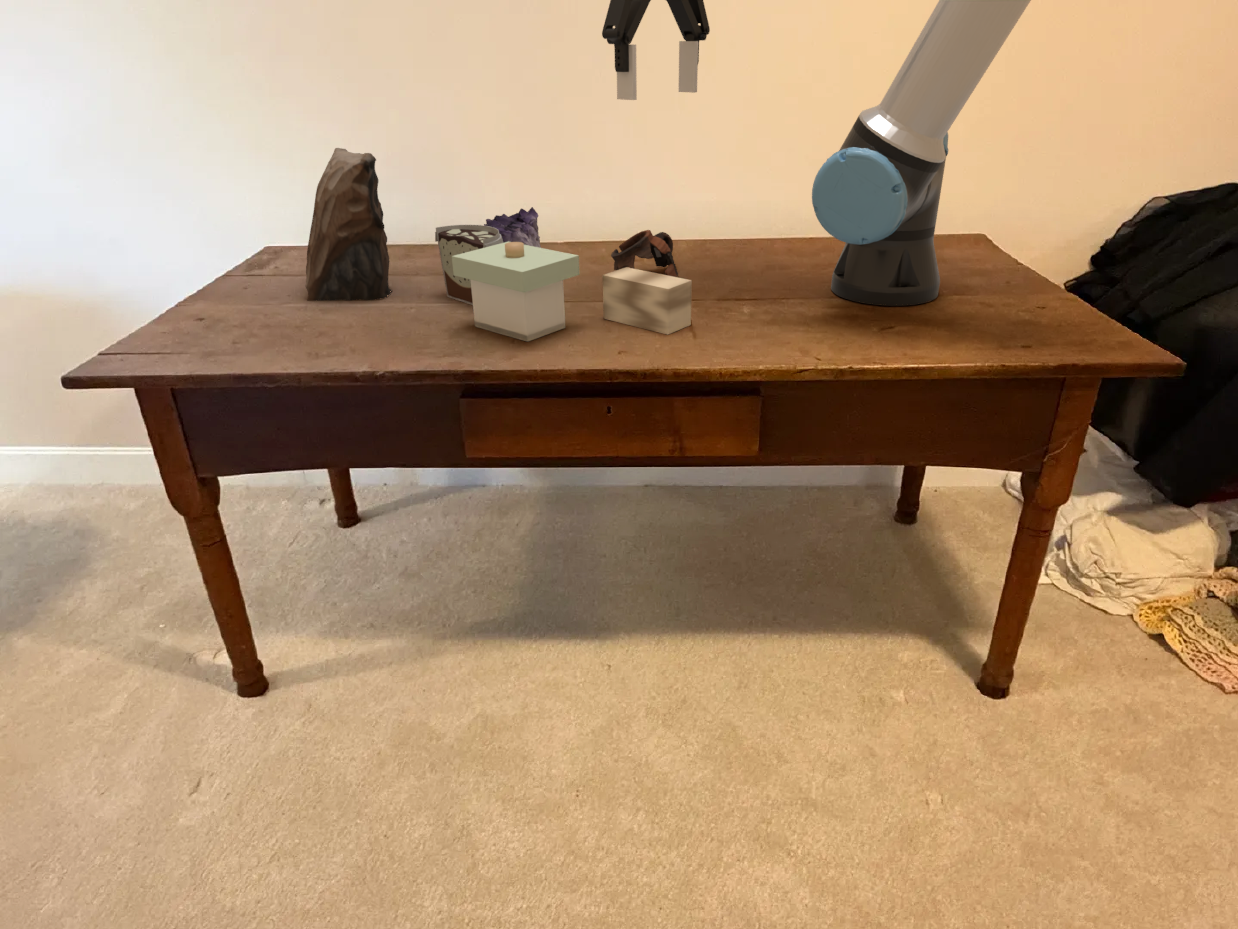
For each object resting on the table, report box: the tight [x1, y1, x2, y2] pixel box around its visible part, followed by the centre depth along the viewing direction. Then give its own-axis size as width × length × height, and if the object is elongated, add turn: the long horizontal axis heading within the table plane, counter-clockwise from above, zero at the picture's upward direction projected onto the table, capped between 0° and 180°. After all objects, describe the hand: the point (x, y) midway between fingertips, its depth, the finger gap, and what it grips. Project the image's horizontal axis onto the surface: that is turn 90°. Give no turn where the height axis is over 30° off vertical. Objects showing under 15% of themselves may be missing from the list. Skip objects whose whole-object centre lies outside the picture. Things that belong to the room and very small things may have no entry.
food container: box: [434, 224, 503, 306], centre depth 125 cm, size 12×6×10 cm, turn 45°
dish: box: [470, 279, 566, 343], centre depth 113 cm, size 10×7×7 cm
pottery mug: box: [610, 229, 679, 277], centre depth 135 cm, size 12×10×8 cm
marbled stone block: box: [602, 267, 693, 336], centre depth 114 cm, size 11×5×6 cm, turn 50°
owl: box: [305, 147, 392, 302], centre depth 127 cm, size 13×13×20 cm
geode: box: [483, 206, 542, 248], centre depth 139 cm, size 20×12×10 cm, turn 173°
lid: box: [452, 241, 581, 292], centre depth 111 cm, size 13×10×4 cm
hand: (658, 95), depth 118 cm, fingers open, 13 cm apart
